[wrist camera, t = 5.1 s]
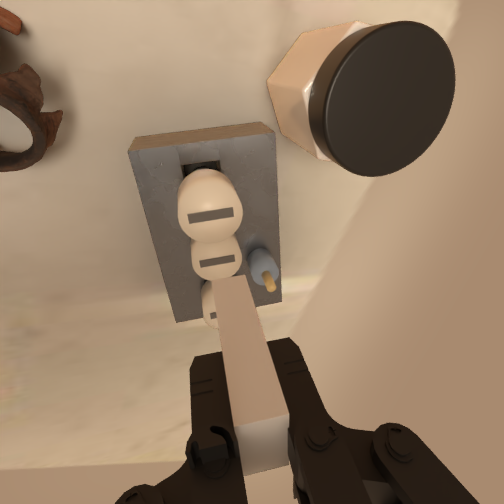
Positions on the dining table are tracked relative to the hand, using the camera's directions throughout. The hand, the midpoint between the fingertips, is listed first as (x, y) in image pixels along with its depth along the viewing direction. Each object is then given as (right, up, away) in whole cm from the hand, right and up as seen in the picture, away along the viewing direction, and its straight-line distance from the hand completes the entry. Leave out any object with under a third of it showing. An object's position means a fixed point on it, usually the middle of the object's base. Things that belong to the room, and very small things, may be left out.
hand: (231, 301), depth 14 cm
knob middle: (-3, +6, +18) cm, 19 cm away
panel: (-3, +6, +18) cm, 19 cm away
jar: (+6, +17, +14) cm, 23 cm away
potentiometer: (+2, +2, +16) cm, 16 cm away
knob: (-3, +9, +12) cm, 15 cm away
